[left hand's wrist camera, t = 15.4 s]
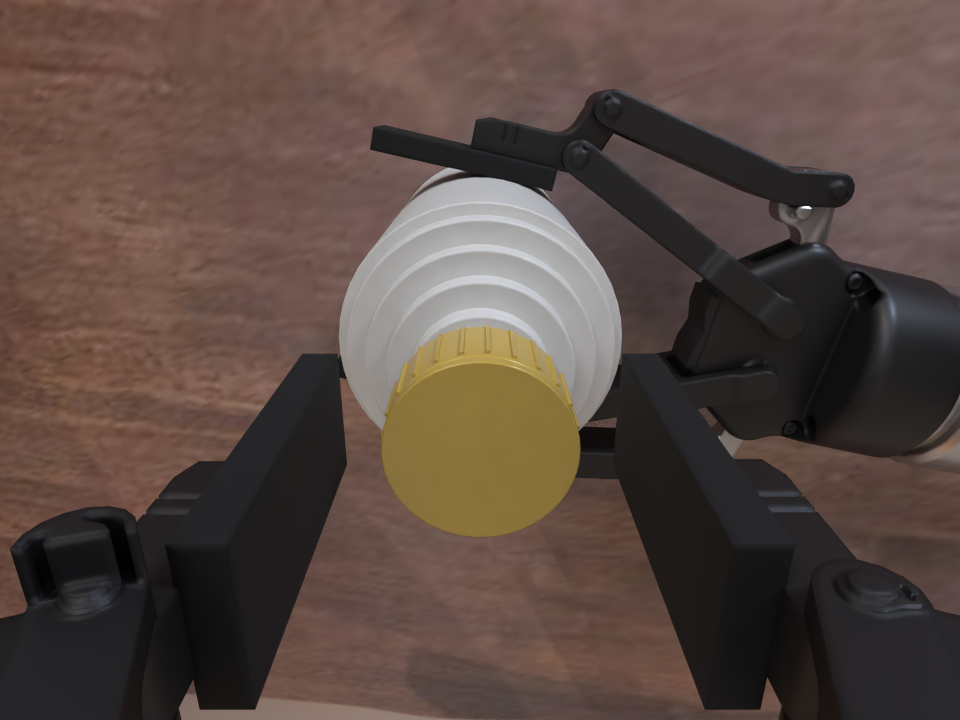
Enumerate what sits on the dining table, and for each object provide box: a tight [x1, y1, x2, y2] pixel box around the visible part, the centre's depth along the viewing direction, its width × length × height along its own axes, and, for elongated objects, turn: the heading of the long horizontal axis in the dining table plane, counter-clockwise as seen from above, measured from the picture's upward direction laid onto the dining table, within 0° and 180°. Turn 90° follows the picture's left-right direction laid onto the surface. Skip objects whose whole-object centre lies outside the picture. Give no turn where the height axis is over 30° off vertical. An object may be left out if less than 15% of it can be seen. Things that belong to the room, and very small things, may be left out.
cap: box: [381, 325, 581, 537], centre depth 14 cm, size 4×4×2 cm
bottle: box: [339, 168, 622, 431], centre depth 22 cm, size 8×8×20 cm
